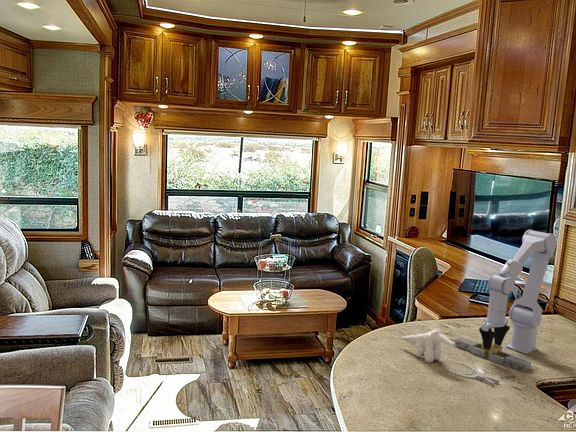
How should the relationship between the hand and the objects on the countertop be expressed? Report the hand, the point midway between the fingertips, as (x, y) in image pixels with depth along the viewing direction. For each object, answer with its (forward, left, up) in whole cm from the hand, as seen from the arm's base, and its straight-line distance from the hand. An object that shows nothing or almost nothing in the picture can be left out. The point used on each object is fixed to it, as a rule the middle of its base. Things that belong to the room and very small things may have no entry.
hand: (492, 346), depth 182 cm
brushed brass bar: (0, 0, -4) cm, 4 cm away
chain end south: (0, -7, -4) cm, 8 cm away
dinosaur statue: (+22, -13, -4) cm, 26 cm away
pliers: (+20, +5, -4) cm, 21 cm away
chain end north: (0, +7, -4) cm, 8 cm away
